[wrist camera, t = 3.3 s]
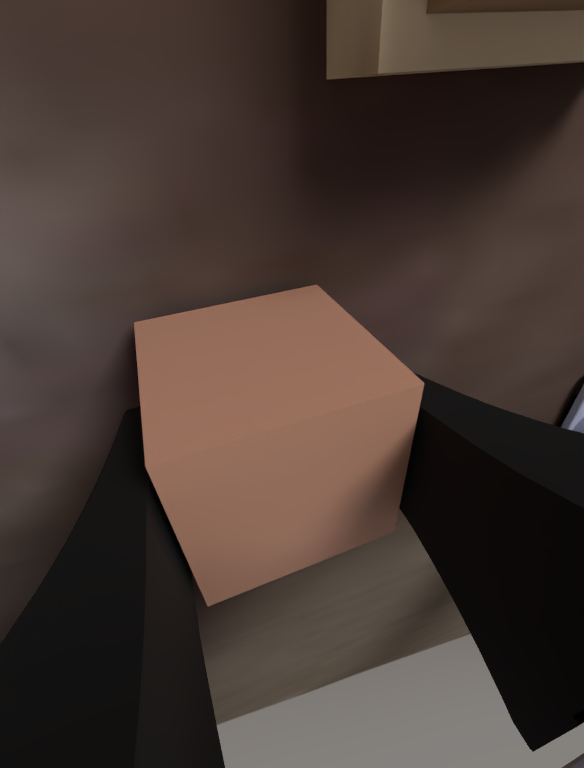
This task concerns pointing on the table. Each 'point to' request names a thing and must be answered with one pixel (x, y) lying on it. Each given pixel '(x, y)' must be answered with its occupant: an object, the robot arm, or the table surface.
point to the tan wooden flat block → (501, 6)
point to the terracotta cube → (272, 434)
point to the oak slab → (444, 39)
